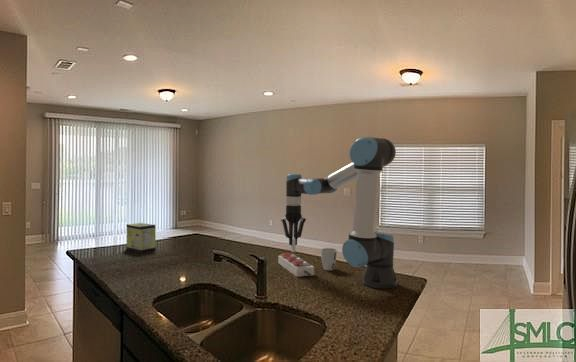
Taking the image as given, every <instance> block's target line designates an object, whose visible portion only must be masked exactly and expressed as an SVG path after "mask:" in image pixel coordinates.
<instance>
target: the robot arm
mask: <svg viewBox="0 0 576 362" xmlns="http://www.w3.org/2000/svg"><path fill="white" fill-rule="evenodd" d="M396 151H397V150H396V147H395V145H394V144H393V142H392V141H391V140H389V139H386V138H383V137H382V138H379V137H372V136H364V137H363V136H362V137H359V138H357V139H356V140H355V141H354V142H352V144H351V145H350V149H349V159H350V160H351V163H349V164H347V165H345V166H343V167H341V168H340V169H338V170H336V171H334V172H332V173H330V174H329V175H327V176H326V177H321V178H319V177H318V178H302V174H301V173H299V174H298V173H288V174H287V175H286V181H285V183H286V193H285V194H286V196H285V197H286V199H285V200H286V201H285V203H286V205H285V215H284V217H283V218H280V221H281V223H282V226H283V231H284V235H285V237H286V238H287V239H288V245H289V246H290V252H292V253H295V252H296V246H297V245H298V239H299V238H301V237H302V233H303V228H304V224H305V222H306V221H307V219H306V218H305V217H303V216H302V206H301V204H302V194H303V195H309V196H313V195H318V194H319V195H321V194H333V193H335V192H336V191H337V190H338V188H340V187H342V186H344V185H346V184H348V183H350V182H352V181H354V180H356V184H355V196H354V197H355V198H354V211H353V222H352V223H353V224H352V229H351V230H350V231H349V232H348V240H346V241H344V243H343V245H342V247H341V250H342V251H341V252H342V256H343V258H344V260H346V261H345V262H346V263H347V264H348V265H350V266H351V267H355V268H361V267H365V269H364V272H363V276H362V279H361V280H362V282H361V283H362V285H364V286H366V287H369V288H374V289H384V290H385V289H393V288H396V287H397V286H398V279H397V276H396V272H395V269H394V255H395V254H394V251H395V249H394V248H395V240H394V239H395V237H394V235H393V234H390V233H385V232H378V231H377V232H376V231H375V229H374V227H375V216H376V205H377V204H376V203H377V195H378V193H377V192H378V182H379V174H381V173H382V172H383V168H384V167H386V166H388V165H390V164H391V163H392V162H393V161H394V160H395V157H396V155H397V154H396ZM287 223H288V225H287Z"/></svg>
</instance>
